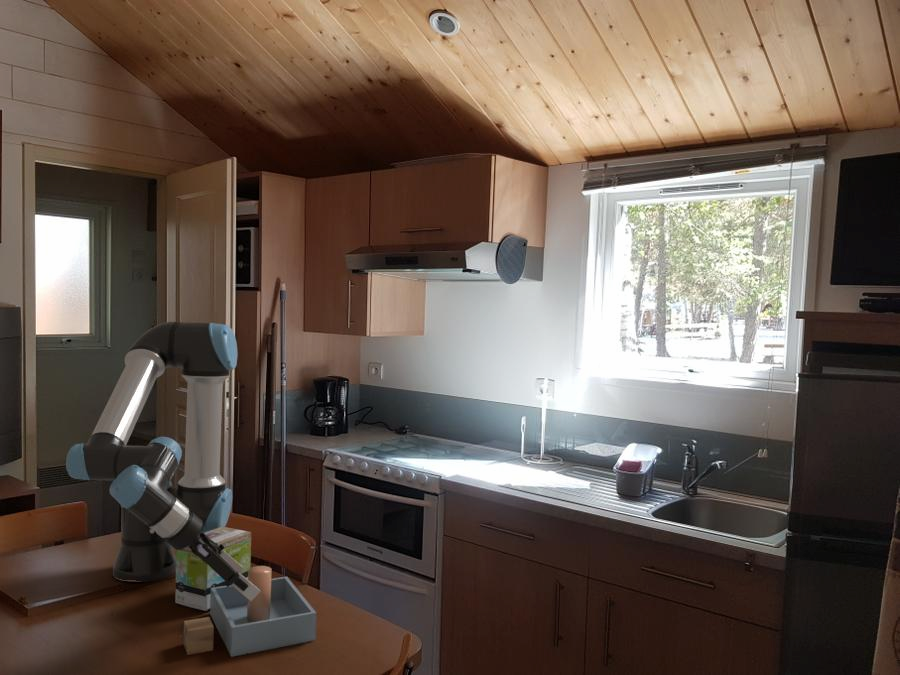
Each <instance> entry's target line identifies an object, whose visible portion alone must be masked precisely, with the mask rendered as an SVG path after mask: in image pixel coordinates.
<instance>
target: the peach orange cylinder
mask: <svg viewBox="0 0 900 675" xmlns="http://www.w3.org/2000/svg"><path fill="white" fill-rule="evenodd" d="M272 573H273V572H272V568H271V567H270V566H266V565H257V566H251V568H250V569H249V570H248V581H250V582H251V583H252V584H253V585H254V586H256V587H257V588H258V589H259V590H260V592H259V594H258V595H257V596H256V597H255V598H254V599H253V600H252V601H250V600H249V599H248V598H247V621H248V622H250V623H252V622H257V621H263V620H269V619H270V604H271V579H272Z"/></svg>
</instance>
